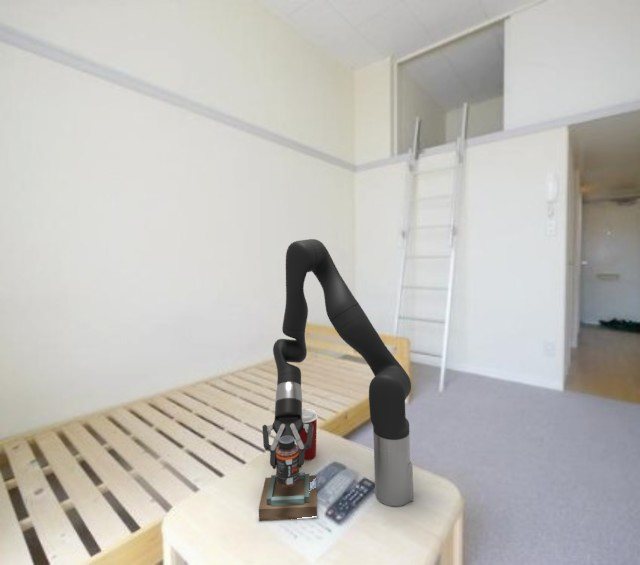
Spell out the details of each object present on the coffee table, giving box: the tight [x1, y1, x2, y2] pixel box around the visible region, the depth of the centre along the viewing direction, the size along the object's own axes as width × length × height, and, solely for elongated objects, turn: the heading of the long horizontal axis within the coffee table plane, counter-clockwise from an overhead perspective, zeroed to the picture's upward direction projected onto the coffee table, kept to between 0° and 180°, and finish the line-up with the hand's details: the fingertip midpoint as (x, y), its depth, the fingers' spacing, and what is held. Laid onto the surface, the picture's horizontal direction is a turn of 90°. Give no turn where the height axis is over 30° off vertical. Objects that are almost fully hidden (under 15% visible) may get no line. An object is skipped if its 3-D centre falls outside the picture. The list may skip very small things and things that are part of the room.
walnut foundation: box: [258, 471, 318, 522], centre depth 89 cm, size 14×12×4 cm
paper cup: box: [296, 408, 319, 461], centre depth 109 cm, size 8×8×14 cm
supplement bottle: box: [275, 436, 301, 488], centre depth 88 cm, size 6×6×11 cm
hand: (287, 467), depth 87 cm, fingers closed on supplement bottle, 6 cm apart
